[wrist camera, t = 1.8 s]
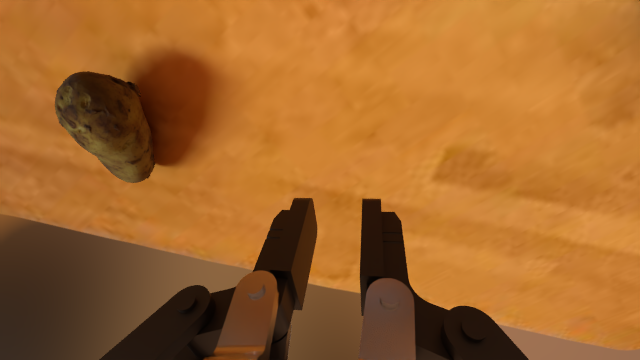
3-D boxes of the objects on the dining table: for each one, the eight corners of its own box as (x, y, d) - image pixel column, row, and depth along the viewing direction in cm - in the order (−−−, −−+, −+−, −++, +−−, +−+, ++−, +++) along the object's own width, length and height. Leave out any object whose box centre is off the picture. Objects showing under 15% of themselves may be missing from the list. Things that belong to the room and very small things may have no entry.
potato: (93, 135, 33) (28, 173, 27) (113, 42, 26) (30, 64, 20) (159, 173, 35) (113, 217, 29) (193, 98, 28) (142, 133, 22)
